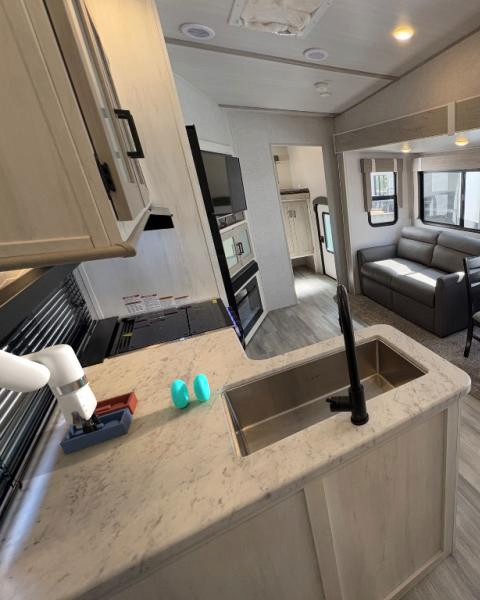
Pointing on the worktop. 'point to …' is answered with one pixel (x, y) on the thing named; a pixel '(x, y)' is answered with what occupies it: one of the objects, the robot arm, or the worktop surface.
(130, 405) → the red bin
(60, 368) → the robot arm
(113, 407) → the red elongated piece
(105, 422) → the blue bin
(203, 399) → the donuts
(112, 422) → the blue spoon
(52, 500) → the worktop surface
